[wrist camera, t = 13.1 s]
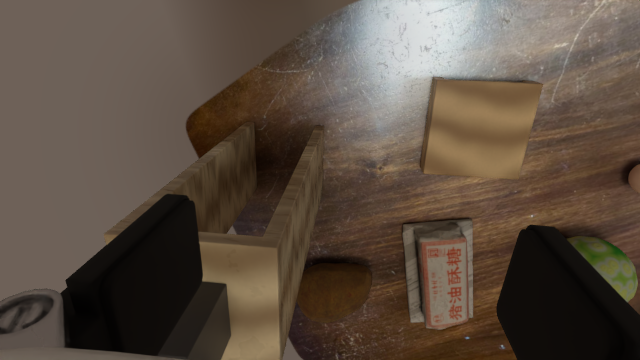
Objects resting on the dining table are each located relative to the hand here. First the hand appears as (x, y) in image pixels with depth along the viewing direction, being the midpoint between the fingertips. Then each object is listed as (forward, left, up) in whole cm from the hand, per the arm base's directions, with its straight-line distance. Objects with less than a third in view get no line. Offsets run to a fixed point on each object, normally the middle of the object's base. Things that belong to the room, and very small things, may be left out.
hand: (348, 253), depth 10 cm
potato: (+31, -2, -39) cm, 50 cm away
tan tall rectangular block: (+11, -10, -39) cm, 41 cm away
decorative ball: (+23, +32, -39) cm, 56 cm away
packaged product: (+28, +14, -39) cm, 50 cm away
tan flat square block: (+5, +15, -39) cm, 42 cm away
